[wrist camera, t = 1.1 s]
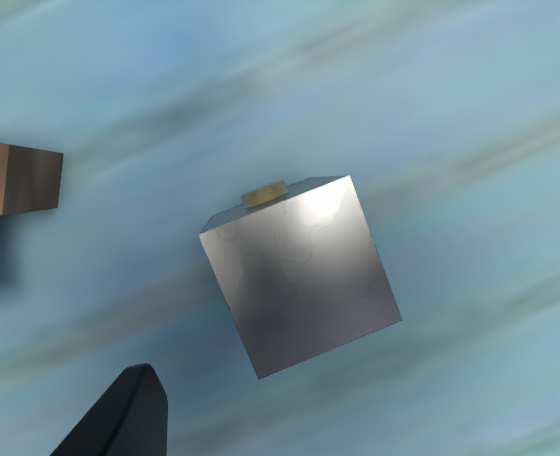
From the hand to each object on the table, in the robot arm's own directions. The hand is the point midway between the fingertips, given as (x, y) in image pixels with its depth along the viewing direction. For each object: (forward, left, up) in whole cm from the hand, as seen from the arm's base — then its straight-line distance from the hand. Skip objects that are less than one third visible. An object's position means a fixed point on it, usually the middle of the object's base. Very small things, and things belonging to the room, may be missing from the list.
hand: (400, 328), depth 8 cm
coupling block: (-1, +1, -14) cm, 15 cm away
